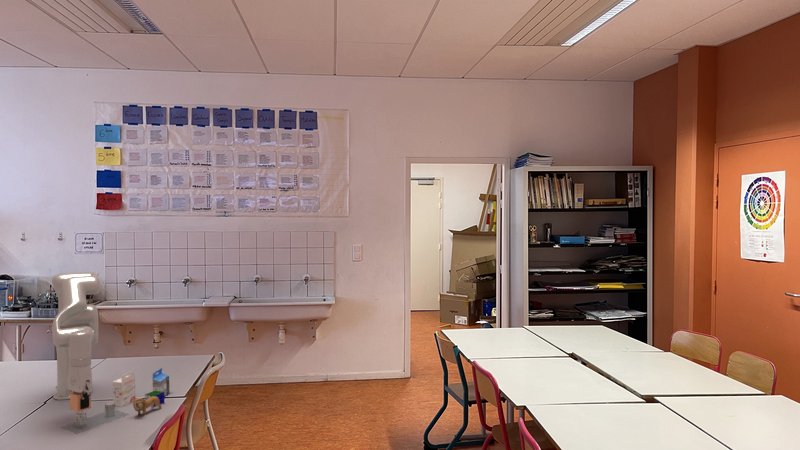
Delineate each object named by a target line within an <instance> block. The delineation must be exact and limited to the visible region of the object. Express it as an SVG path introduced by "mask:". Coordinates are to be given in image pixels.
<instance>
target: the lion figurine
mask: <svg viewBox="0 0 800 450" xmlns="http://www.w3.org/2000/svg"><path fill="white" fill-rule="evenodd" d="M154 404H155V405H156V406H155V407H158V408H159V410H162V404H160V400H159V398H158V397H156V396H154V397H151V398H149V399H147V400H145V398H142V397H135V400H134V401H132V406H133V409H134V410H135V412H137V414H138V416H140V415H141V413H142V415H143V416H146V410H147V409H149V408H150V407H151V409H150V410H151V411H152V410H153V409H154V408H155V407H154Z"/></svg>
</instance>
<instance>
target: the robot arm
mask: <svg viewBox="0 0 800 450" xmlns="http://www.w3.org/2000/svg"><path fill="white" fill-rule="evenodd" d="M51 284H52V287H53V289H54V292H55V294H56V296H57V298H58V299H57V300H58V301H57V302H58V313H57V314H56V316H55V317H54V319H53V322H52V327H51V331H52V332H51V333H52V343H53V345H54V347H55V349H56V350H55V351H56V371H57V372H56V377H57V378H56V382H57V386H55V389H56V391H57V392H56V393H54V394H53V399H54V400H57V401H58V400H59V401H62V400H63V401H64V400H70V393H73V392H78V393H81V399H80V409H85V408H88V407H89V398H90V395H91V396H92V394H93V374H92V366H91V365H92V347H93V346H95V345H97V344H98V342H99V310H98V307H97V306H96V305H95V304H87V303H88V302H87V296H88V295H89V296H90V295H98V294H99V293H100V291H101V287H102V286H101V285H102V284H101V281H100V277H99V276H98V275H97V274H96V273H95V272H94V271H93V272H92V271H87V272H86V271H85V272H83V271H82V272H67V273H58V274H55V275H54V276H53V277H52V279H51ZM61 327H65V328H61ZM84 390H85V391H84ZM84 392H86V393H85V394H84Z"/></svg>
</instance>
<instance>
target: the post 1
mask: <svg viewBox="0 0 800 450" xmlns="http://www.w3.org/2000/svg"><path fill="white" fill-rule="evenodd" d="M86 415H87V413H86V412H85V411H80V412H76V413H75V421H74V422H75V426H76V427H78V428H80V427H83V426H86V418H87V416H86Z"/></svg>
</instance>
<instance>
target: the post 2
mask: <svg viewBox="0 0 800 450" xmlns="http://www.w3.org/2000/svg"><path fill="white" fill-rule="evenodd" d="M115 410H116V406H115V403H113V401H111V402H108V403H105V404H104V412H105V416H106V417H111V416H114V415H115Z"/></svg>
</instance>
